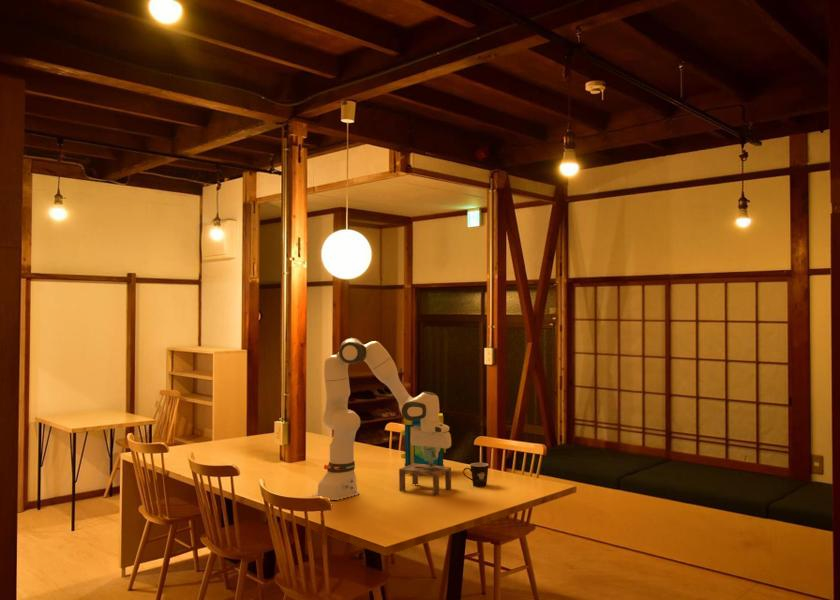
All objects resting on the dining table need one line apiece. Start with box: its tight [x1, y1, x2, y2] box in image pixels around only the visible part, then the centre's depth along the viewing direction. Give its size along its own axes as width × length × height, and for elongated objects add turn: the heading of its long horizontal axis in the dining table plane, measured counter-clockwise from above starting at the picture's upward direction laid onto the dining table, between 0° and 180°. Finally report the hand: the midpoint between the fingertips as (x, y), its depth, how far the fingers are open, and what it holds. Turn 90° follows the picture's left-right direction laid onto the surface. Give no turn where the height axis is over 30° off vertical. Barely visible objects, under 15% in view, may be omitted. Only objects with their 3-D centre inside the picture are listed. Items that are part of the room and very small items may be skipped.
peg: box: [424, 448, 438, 470], centre depth 317 cm, size 6×4×9 cm, turn 150°
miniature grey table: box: [398, 463, 452, 496], centre depth 318 cm, size 20×14×10 cm
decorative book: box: [400, 412, 447, 476], centre depth 353 cm, size 14×23×30 cm, turn 90°
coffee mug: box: [462, 462, 489, 488], centre depth 325 cm, size 12×9×10 cm
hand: (430, 456), depth 317 cm, fingers closed on peg, 4 cm apart
